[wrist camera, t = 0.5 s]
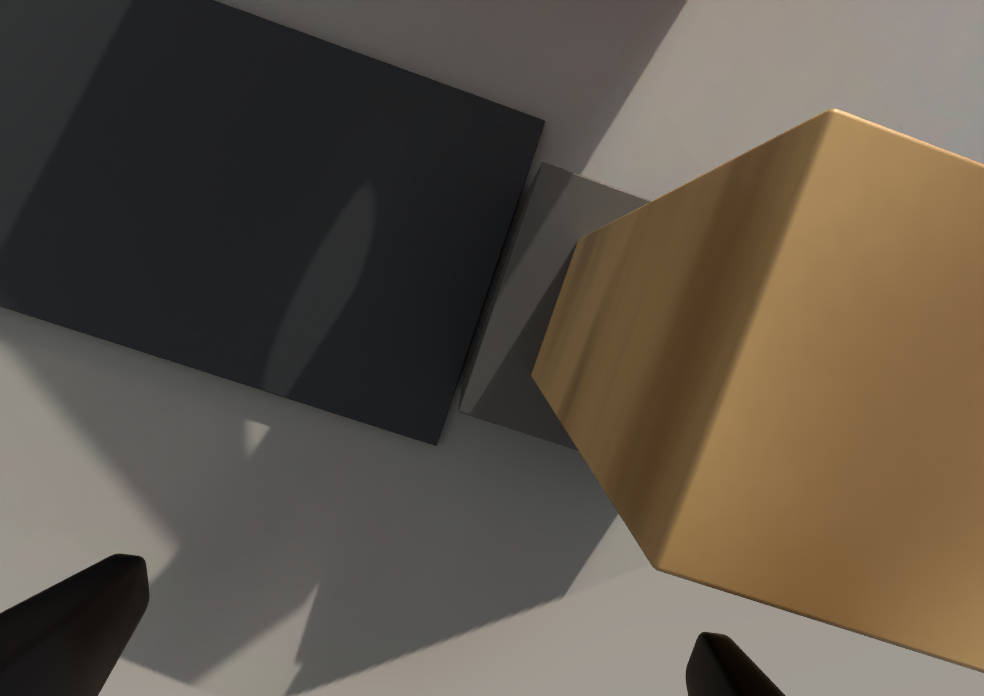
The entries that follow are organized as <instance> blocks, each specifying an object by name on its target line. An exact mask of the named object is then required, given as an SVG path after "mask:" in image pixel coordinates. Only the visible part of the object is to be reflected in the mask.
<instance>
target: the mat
mask: <svg viewBox="0 0 984 696" xmlns="http://www.w3.org/2000/svg"><path fill="white" fill-rule="evenodd" d="M544 123H545V121H544V120H542V119H539V118H536V117H533V116H531V115H528V114H525V113H522V112H520V111H517V110H514V109H511V108H509V107H506V106H503V105H500V104H498V103H495V102H492V101H489V100H486V99H484V98H481V97H478V96H475V95H473V94H470V93H467V92H464V91H462V90H459V89H456V88H453V87H451V86H448V85H445V84H442V83H440V82H437V81H434V80H431V79H429V78H426V77H423V76H420V75H418V74H415V73H412V72H409V71H407V70H404V69H401V68H398V67H396V66H393V65H390V64H387V63H385V62H382V61H379V60H376V59H374V58H371V57H368V56H365V55H363V54H360V53H357V52H354V51H352V50H349V49H346V48H343V47H341V46H338V45H335V44H332V43H330V42H327V41H324V40H321V39H319V38H316V37H313V36H310V35H307V34H305V33H302V32H299V31H296V30H294V29H291V28H288V27H285V26H283V25H280V24H277V23H274V22H272V21H269V20H266V19H263V18H261V17H258V16H255V15H252V14H250V13H247V12H244V11H241V10H239V9H236V8H233V7H230V6H228V5H225V4H222V3H219V2H217V1H214V0H0V306H1V307H4V308H8V309H11V310H14V311H17V312H20V313H23V314H26V315H29V316H33V317H36V318H39V319H42V320H45V321H48V322H51V323H54V324H57V325H61V326H64V327H67V328H70V329H73V330H76V331H79V332H82V333H86V334H89V335H92V336H95V337H98V338H101V339H104V340H107V341H111V342H114V343H117V344H120V345H123V346H126V347H129V348H132V349H135V350H139V351H142V352H145V353H148V354H151V355H154V356H157V357H160V358H164V359H167V360H170V361H173V362H176V363H179V364H182V365H185V366H188V367H192V368H195V369H198V370H201V371H204V372H207V373H210V374H213V375H217V376H220V377H223V378H226V379H229V380H232V381H235V382H238V383H242V384H245V385H248V386H251V387H254V388H257V389H260V390H263V391H266V392H270V393H273V394H276V395H279V396H282V397H285V398H288V399H291V400H295V401H298V402H301V403H304V404H307V405H310V406H313V407H316V408H319V409H323V410H326V411H329V412H332V413H335V414H338V415H341V416H344V417H348V418H351V419H354V420H357V421H360V422H363V423H366V424H369V425H373V426H376V427H379V428H382V429H385V430H388V431H391V432H394V433H397V434H401V435H404V436H407V437H410V438H413V439H416V440H419V441H422V442H426V443H429V444H432V445H437V442H438V439H439V436H440V433H441V430H442V427H443V424H444V421H445V418H446V415H447V412H448V409H449V406H450V403H451V400H452V397H453V394H454V391H455V388H456V385H457V382H458V379H459V376H460V373H461V370H462V367H463V364H464V361H465V358H466V356H467V353H468V350H469V347H470V344H471V341H472V338H473V335H474V332H475V329H476V326H477V323H478V320H479V317H480V314H481V311H482V308H483V305H484V302H485V299H486V296H487V293H488V290H489V287H490V284H491V281H492V278H493V275H494V272H495V269H496V266H497V263H498V260H499V257H500V254H501V251H502V248H503V245H504V242H505V239H506V236H507V233H508V231H509V228H510V225H511V222H512V219H513V216H514V213H515V210H516V207H517V204H518V201H519V198H520V195H521V192H522V189H523V186H524V183H525V180H526V177H527V174H528V171H529V168H530V165H531V162H532V159H533V156H534V153H535V150H536V147H537V144H538V141H539V138H540V135H541V132H542V129H543V126H544Z"/></svg>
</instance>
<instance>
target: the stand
mask: <svg viewBox="0 0 984 696" xmlns="http://www.w3.org/2000/svg"><path fill="white" fill-rule="evenodd" d="M649 202H651V201H650V200H648V199H645V198H642V197H639V196H636V195H634V194H631V193H628V192H625V191H622V190H620V189H617V188H614V187H611V186H608V185H606V184H603V183H600V182H597V181H595V180H592V179H589V178H586V177H583V176H581V175H578V174H575V173H572V172H569V171H567V170H564V169H561V168H558V167H555V166H553V165H550V164H547V163H544V162H543V163H542V164H541V166H540V168H539V170H538V172H537V174H536V176H535V178H534V180H533V182H532V184H531V186H530V189H529V192H528V195H527V198H526V201H525V204H524V207H523V210H522V213H521V216H520V219H519V221H518V224H517V227H516V230H515V233H514V236H513V239H512V242H511V245H510V248H509V251H508V254H507V257H506V260H505V263H504V266H503V269H502V272H501V275H500V278H499V281H498V284H497V287H496V290H495V293H494V296H493V299H492V302H491V304H490V307H489V310H488V313H487V316H486V319H485V322H484V325H483V328H482V331H481V334H480V337H479V340H478V343H477V346H476V349H475V352H474V355H473V358H472V361H471V364H470V367H469V370H468V373H467V376H466V379H465V382H464V385H463V388H462V391H461V397H460V404H459V410H458V411H459V412H461V413H464V414H467V415H470V416H474V417H477V418H480V419H483V420H486V421H489V422H492V423H495V424H498V425H501V426H504V427H507V428H510V429H513V430H517V431H520V432H523V433H526V434H529V435H532V436H535V437H538V438H541V439H544V440H547V441H550V442H553V443H556V444H560V445H563V446H566V447H569V448H572V449H575V450H578V449H577V447H576V445H575V444H574V442H573V441H572V439H571V438H570V436H569V434H568V433H567V431H566V430H565V428H564V427H563V425H562V423H561V422H560V420H559V419H558V417H557V416H556V414H555V412H554V411H553V409H552V408H551V406H550V405H549V403H548V401H547V400H546V398H545V397H544V395H543V394H542V392H541V390H540V389H539V387H538V386H537V384H536V383H535V381H534V379H533V378H532V376H531V374H532V371H533V368H534V365H535V362H536V360H537V357H538V354H539V351H540V348H541V345H542V342H543V339H544V337H545V334H546V331H547V328H548V325H549V322H550V319H551V317H552V314H553V311H554V308H555V305H556V302H557V299H558V297H559V294H560V291H561V288H562V285H563V282H564V279H565V276H566V274H567V271H568V268H569V265H570V262H571V259H572V256H573V254H574V251H575V248H576V245H577V242H578V240H579V239H580V238H582V237H584V236H586V235H588V234H590V233H592V232H594V231H596V230H598V229H600V228H601V227H603V226H605V225H607V224H609V223H611V222H613V221H615V220H617V219H619V218H621V217H623V216H625V215H626V214H628V213H630V212H632V211H634V210H636V209H638V208H640V207H642V206H644V205H646V204H648V203H649ZM578 451H579V450H578Z"/></svg>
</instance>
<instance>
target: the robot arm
mask: <svg viewBox="0 0 984 696" xmlns="http://www.w3.org/2000/svg"><path fill="white" fill-rule="evenodd" d="M148 602H149V585H148V576H147V568H146V562H145V560H144V559H143V557H140V556H135V555H128V554H114V555H112V556H109V557H107V558H105V559H103V560H102V561H100V562H98V563H96V564H94V565H92V566H90V567H88V568H86V569H84V570H82V571H80V572H78V573H77V574H75V575H73V576H71V577H69V578H67V579H65V580H63V581H61V582H59V583H57V584H55V585H53V586H52V587H50V588H48V589H46V590H44V591H42V592H40V593H38V594H36V595H34V596H32V597H30V598H28V599H27V600H25V601H23V602H21V603H19V604H17V605H15V606H13V607H11V608H9V609H7V610H5V611H3V612H2V613H0V696H98V694H99V692H100V691H101V689H102V687H103V686H104V684H105V682H106V680H107V678H108V677H109V675H110V673H111V671H112V670H113V668H114V666H115V664H116V662H117V661H118V659H119V657H120V655H121V654H122V652H123V650H124V648H125V646H126V645H127V643H128V641H129V639H130V638H131V636H132V634H133V632H134V630H135V629H136V627H137V625H138V623H139V622H140V620H141V618H142V616H143V614H144V613H145V611H146V608H147V606H148ZM686 685H687V691H688V696H785V695H784V694H783V693H782V692H781V690H780V689H779V688H778V687H776V685H775V684H774V683H773V682H772V681H771V680H770V679H769V678H768V677H767V676H766V675H765V674H764V673H763V672H762V671H761V670H760V669H759V668H758V666H757V665H756V664H755V663H754V662H753V661H752V660H751V659H750V658H749V657H748V656H747V655H746V654H745V653H744V652H743V651H742V650H741V649H740V648H739V647H738V646H737V645H736V643H734V641H733V640H732V639H731V638H729V637H728V636H726V635H723V634H717V633H709V632H702V633H701V634H700V635H699V636H698V638H697V640H696V643H695V646H694V648H693V651H692V654H691V656H690V659H689V662H688V664H687V668H686Z"/></svg>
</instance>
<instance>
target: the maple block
mask: <svg viewBox="0 0 984 696" xmlns="http://www.w3.org/2000/svg"><path fill="white" fill-rule="evenodd" d="M531 376H532V378H533V379H534V381H535V383H536V384H537V386H538V387H539V389H540V390H541V392H542V394H543V395H544V397H545V398H546V400H547V401H548V403H549V405H550V406H551V408H552V409H553V411H554V412H555V414H556V416H557V417H558V419H559V420H560V422H561V423H562V425H563V427H564V428H565V430H566V431H567V433H568V434H569V436H570V438H571V439H572V441H573V442H574V444H575V445H576V447H577V449H578V450H579V452H580V453H581V455H582V457H583V458H584V460H585V461H586V463H587V464H588V466H589V468H590V469H591V471H592V472H593V474H594V475H595V477H596V479H597V480H598V482H599V483H600V485H601V486H602V488H603V490H604V491H605V493H606V494H607V496H608V497H609V499H610V501H611V502H612V504H613V505H614V507H615V508H616V510H617V512H618V513H619V515H620V516H621V518H622V519H623V521H624V523H625V524H626V526H627V527H628V529H629V530H630V532H631V534H632V535H633V537H634V538H635V540H636V541H637V543H638V545H639V546H640V548H641V549H642V551H643V552H644V554H645V556H646V557H647V559H648V560H649V562H650V564H651V565H652V567H653V568H655V569H656V570H658V571H661V572H664V573H667V574H671V575H673V576H677V577H680V578H683V579H686V580H689V581H693V582H696V583H699V584H702V585H705V586H709V587H712V588H715V589H718V590H721V591H724V592H728V593H731V594H734V595H738V596H740V597H744V598H747V599H750V600H753V601H757V602H760V603H763V604H766V605H770V606H772V607H775V608H779V609H782V610H785V611H788V612H791V613H794V614H798V615H801V616H804V617H807V618H810V619H814V620H817V621H820V622H823V623H826V624H829V625H833V626H836V627H839V628H842V629H846V630H849V631H852V632H855V633H858V634H861V635H864V636H868V637H871V638H874V639H878V640H881V641H884V642H887V643H890V644H893V645H896V646H899V647H903V648H906V649H909V650H912V651H915V652H919V653H922V654H925V655H928V656H931V657H934V658H938V659H941V660H944V661H948V662H950V663H954V664H957V665H960V666H963V667H966V668H970V669H973V670H976V671H979V672H982V673H984V164H981V163H979V162H976V161H973V160H971V159H968V158H966V157H963V156H960V155H958V154H955V153H952V152H950V151H947V150H944V149H942V148H939V147H936V146H934V145H931V144H928V143H926V142H923V141H921V140H918V139H915V138H913V137H910V136H907V135H905V134H902V133H899V132H897V131H894V130H891V129H889V128H886V127H883V126H881V125H878V124H875V123H873V122H870V121H868V120H865V119H862V118H860V117H857V116H854V115H852V114H849V113H846V112H844V111H841V110H838V109H828V110H826V111H824V112H822V113H820V114H819V115H817V116H815V117H813V118H811V119H809V120H807V121H805V122H803V123H801V124H799V125H797V126H796V127H794V128H792V129H790V130H788V131H786V132H784V133H782V134H780V135H778V136H776V137H774V138H772V139H771V140H769V141H767V142H765V143H763V144H761V145H759V146H757V147H755V148H753V149H751V150H749V151H747V152H746V153H744V154H742V155H740V156H738V157H736V158H734V159H732V160H730V161H728V162H726V163H724V164H723V165H721V166H719V167H717V168H715V169H713V170H711V171H709V172H707V173H705V174H703V175H701V176H699V177H698V178H696V179H694V180H692V181H690V182H688V183H686V184H684V185H682V186H680V187H678V188H676V189H674V190H673V191H671V192H669V193H667V194H665V195H663V196H661V197H659V198H657V199H655V200H653V201H651V202H649V203H648V204H646V205H644V206H642V207H640V208H638V209H636V210H634V211H632V212H630V213H628V214H626V215H625V216H623V217H621V218H619V219H617V220H615V221H613V222H611V223H609V224H607V225H605V226H603V227H601V228H600V229H598V230H596V231H594V232H592V233H590V234H588V235H586V236H584V237H582V238H580V239H579V240H578V242H577V245H576V248H575V251H574V254H573V256H572V259H571V262H570V265H569V268H568V271H567V274H566V276H565V279H564V282H563V285H562V288H561V291H560V294H559V297H558V299H557V302H556V305H555V308H554V311H553V314H552V317H551V319H550V322H549V325H548V328H547V331H546V334H545V337H544V339H543V342H542V345H541V348H540V351H539V354H538V357H537V360H536V362H535V365H534V368H533V371H532V374H531Z"/></svg>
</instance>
